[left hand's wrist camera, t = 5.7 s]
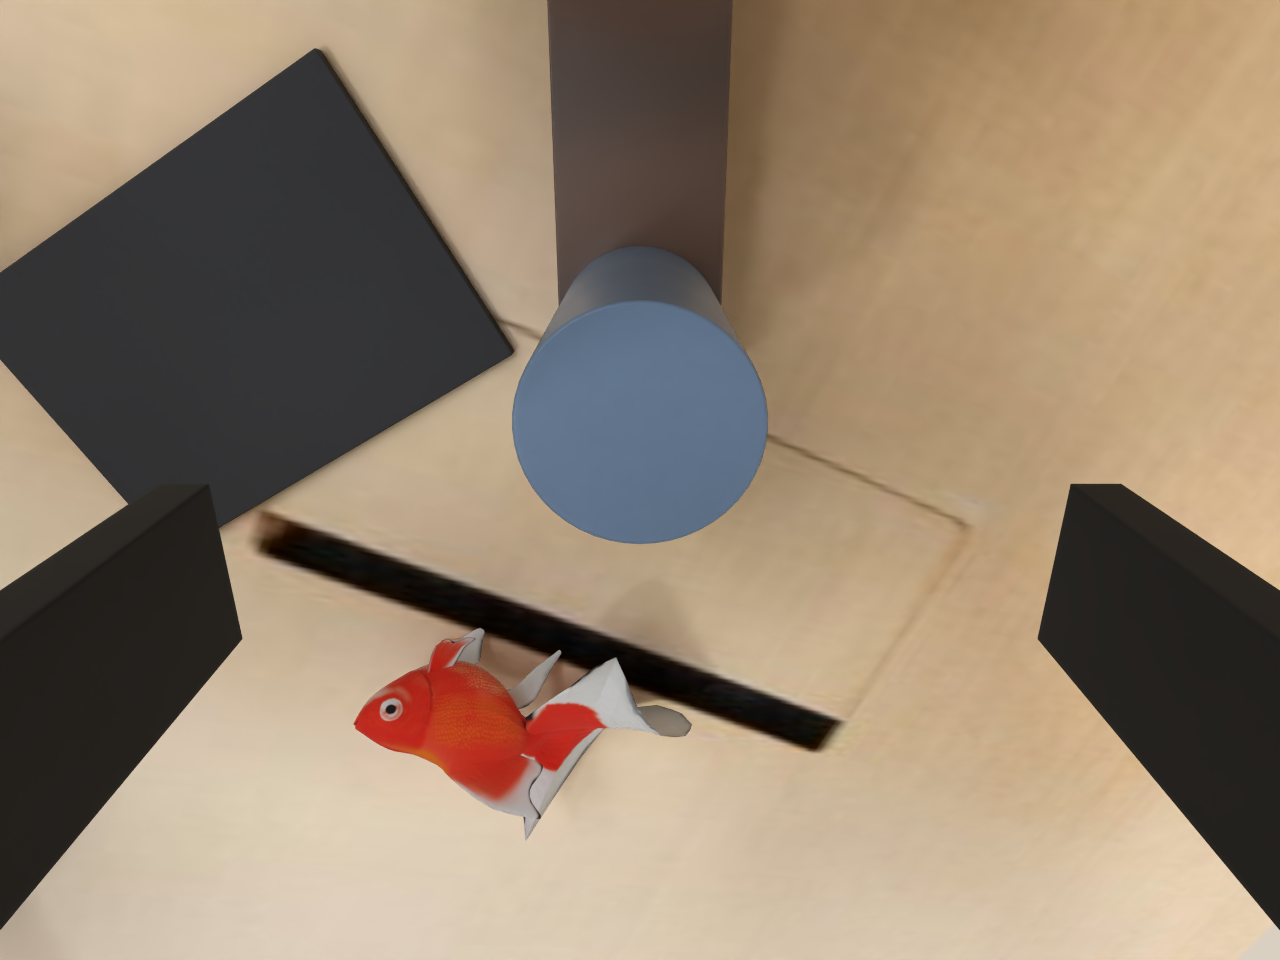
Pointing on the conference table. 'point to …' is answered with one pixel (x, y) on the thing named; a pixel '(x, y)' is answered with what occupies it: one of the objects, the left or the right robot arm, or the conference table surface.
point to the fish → (504, 724)
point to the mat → (246, 303)
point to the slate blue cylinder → (640, 402)
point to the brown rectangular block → (640, 129)
